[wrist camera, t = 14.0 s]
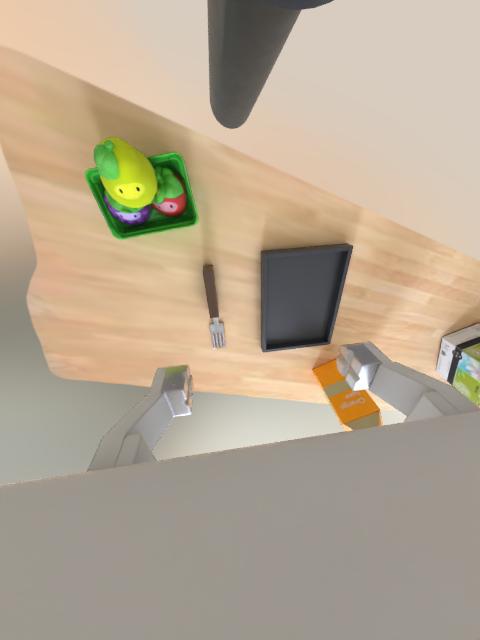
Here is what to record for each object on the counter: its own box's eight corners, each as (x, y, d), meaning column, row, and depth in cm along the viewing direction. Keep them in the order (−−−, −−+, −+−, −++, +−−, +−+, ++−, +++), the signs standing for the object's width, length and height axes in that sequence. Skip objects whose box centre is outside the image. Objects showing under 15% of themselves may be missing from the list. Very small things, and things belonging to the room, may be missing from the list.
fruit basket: (128, 234, 31) (91, 254, 21) (96, 162, 26) (30, 146, 17) (201, 219, 31) (197, 232, 21) (183, 144, 26) (167, 118, 17)
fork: (199, 266, 35) (198, 271, 32) (216, 264, 35) (216, 269, 33) (213, 347, 45) (213, 356, 42) (225, 346, 45) (226, 354, 43)
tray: (260, 251, 35) (263, 254, 33) (346, 243, 36) (353, 245, 34) (261, 346, 46) (262, 352, 44) (325, 338, 47) (329, 344, 46)
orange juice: (340, 357, 51) (402, 437, 34) (346, 376, 56) (404, 456, 39) (311, 369, 52) (358, 453, 36) (320, 387, 57) (365, 469, 40)
